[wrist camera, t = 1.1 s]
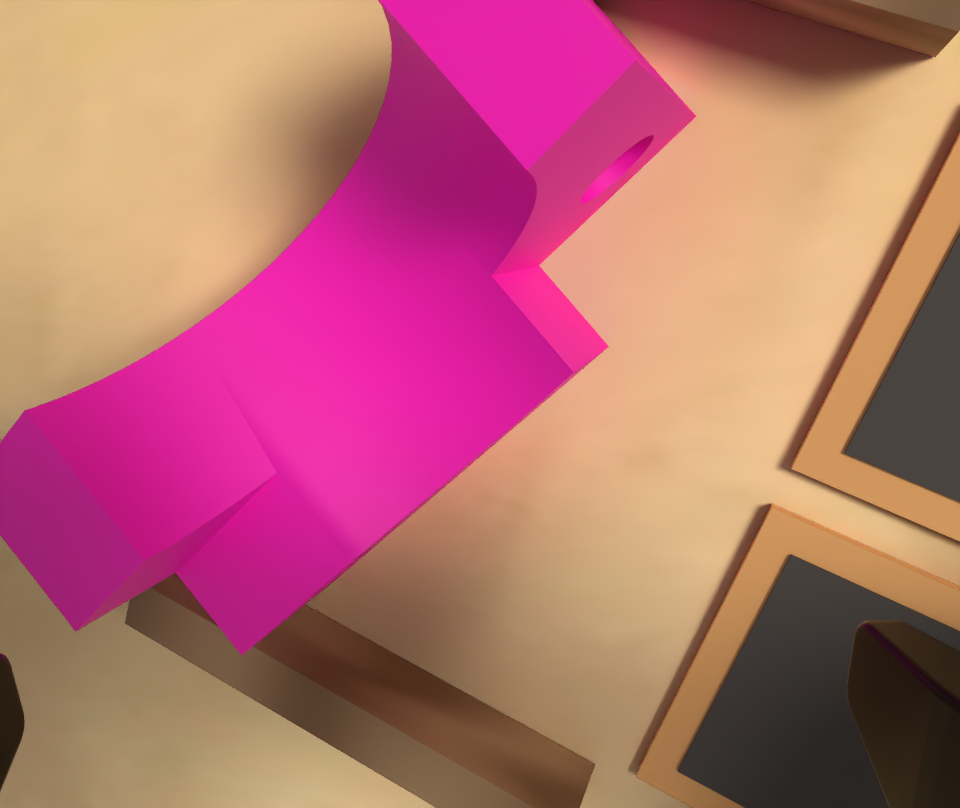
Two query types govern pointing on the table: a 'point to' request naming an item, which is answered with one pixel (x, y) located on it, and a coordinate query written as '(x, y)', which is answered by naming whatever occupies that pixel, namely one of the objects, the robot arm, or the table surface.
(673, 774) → the pit traps
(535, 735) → the channel
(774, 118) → the table surface
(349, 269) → the toy block
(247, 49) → the table surface
